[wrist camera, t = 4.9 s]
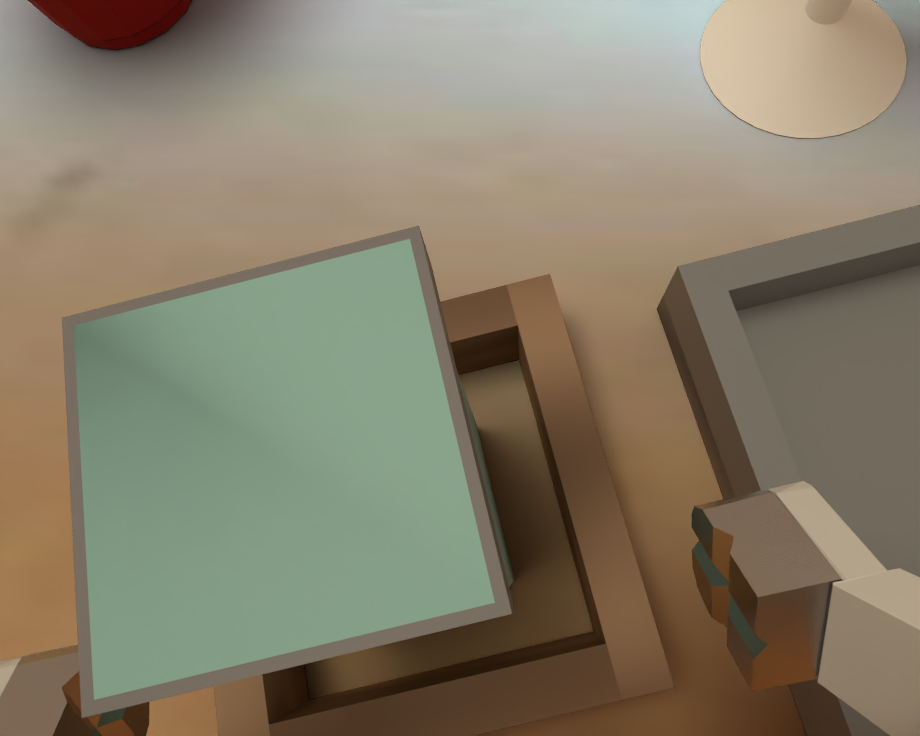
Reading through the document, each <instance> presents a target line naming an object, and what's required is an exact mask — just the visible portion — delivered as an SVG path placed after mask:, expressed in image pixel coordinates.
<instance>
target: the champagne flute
mask: <svg viewBox="0 0 920 736" xmlns="http://www.w3.org/2000/svg"><path fill="white" fill-rule="evenodd" d="M700 58H701V66H702V69H703V73H704V77H705V79H706V81H707V83H708V85H709V87H710V88H711V90H712V92H713V94H714V95H715V96H716V97H717V98H718V99H719V101H720V102H721V103H722V104H723V105H724V106H725V107H726V108H727V109H728V110H730V111H731V112H732V113H733V114H735V115H736V116H737V117H738V118H740V119H742V120H743V121H745V122H747V123H749V124H751V125H753V126H755V127H756V128H759V129H762V130H765V131H768V132H771V133H774V134H777V135H783V136H789V137H794V138H823V137H829V136H836V135H840V134H843V133H846V132H849V131H852V130H855V129H858V128H860V127H862V126H863V125H865V124H867V123H869V122H871V121H872V120H874V119H875V118H877V117H878V116H879V115H880V114H881V113H882V112H883V111H885V110H886V109H887V108H888V107H889V106H890V104H891V103H892V102H893V100H894V99H895V97H896V96H897V95H898V93H899V91H900V89H901V86H902V84H903V81H904V79H905V72H906V65H907V59H906V51H905V45H904V42H903V40H902V37H901V35H900V32H899V30H898V28H897V27H896V25H895V24H894V22H893V21H892V19H891V18H890V16H889V15H888V14H887V13H886V12H885V11H884V10H883V9H882V8H881V7H880V6H879V5H878V4H877V3H875V2H874V1H872V0H727V1H725V2H724V3H723V4H722V5H721V6H720V7H719V8H718V9H717V11H716V12H715V13H714V14H713V15H712V17H711V18H710V20H709V22H708V24H707V26H706V28H705V30H704V32H703V37H702V41H701V46H700Z"/></svg>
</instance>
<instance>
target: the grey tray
mask: <svg viewBox="0 0 920 736" xmlns="http://www.w3.org/2000/svg"><path fill="white" fill-rule="evenodd" d="M657 310H658V313H659V316H660V319H661V322H662V324H663V327H664V330H665V333H666V336H667V339H668V341H669V344H670V347H671V350H672V353H673V356H674V359H675V361H676V364H677V367H678V370H679V373H680V376H681V378H682V381H683V384H684V387H685V390H686V393H687V396H688V398H689V401H690V404H691V407H692V410H693V413H694V415H695V418H696V421H697V424H698V427H699V430H700V433H701V435H702V438H703V441H704V444H705V447H706V450H707V453H708V455H709V458H710V461H711V464H712V467H713V470H714V472H715V475H716V478H717V481H718V484H719V487H720V490H721V492H722V495H723V498H724V499H727V498H731V497H736V496H740V495H744V494H748V493H753V492H757V491H761V490H764V491H766V490H767V489H771V488H775V487H779V486H784V485H788V484H792V483H797V482H801V481H805V482H807V483H809V484H811V485H812V486H813V487H814V488H815V489H816V490H817V492H818V493H819V494H820V495H821V496H822V497H823V498H824V499H825V501H826V502H827V503H828V504H829V505H830V506H831V507H832V508H833V509H834V511H835V512H836V513H837V514H838V515H839V516H840V517H841V518H842V520H843V521H844V522H845V523H846V524H847V525H848V526H849V527H850V529H851V530H852V531H853V532H854V533H855V534H856V535H857V536H858V538H859V539H860V540H861V541H862V542H863V543H864V544H865V545H866V546H867V548H868V549H869V550H870V551H871V552H872V553H873V554H874V555H875V557H876V558H877V559H878V560H879V561H880V562H881V563H882V564H883V566H884V567H885V568H886V569H887V570H892V569H898V568H900V569H903V570H905V571H907V572H909V573H911V574H914V575H916V576H918V577H920V205H917V206H913V207H910V208H906V209H902V210H898V211H894V212H890V213H886V214H882V215H878V216H874V217H870V218H866V219H862V220H858V221H854V222H851V223H847V224H843V225H839V226H835V227H831V228H827V229H823V230H819V231H815V232H811V233H807V234H803V235H799V236H795V237H792V238H788V239H784V240H780V241H776V242H772V243H768V244H764V245H760V246H756V247H752V248H748V249H744V250H740V251H736V252H733V253H729V254H725V255H721V256H717V257H713V258H709V259H705V260H701V261H697V262H693V263H689V264H685V265H681V266H678V267H677V269H676V271H675V273H674V275H673V277H672V279H671V281H670V283H669V285H668V287H667V289H666V291H665V293H664V295H663V297H662V299H661V301H660V303H659V305H658V307H657ZM789 686H790V689H791V692H792V695H793V697H794V700H795V703H796V706H797V709H798V712H799V714H800V717H801V720H802V723H803V726H804V729H805V732H806V734H807V736H890V735H889V734H887V733H886V732H885V731H883V730H882V729H881V728H879V727H878V726H876V725H875V724H874V723H872V722H871V721H870V720H868V719H867V718H866V717H864V716H863V715H861V714H860V713H859V712H857V711H856V710H855V709H853V708H852V707H851V706H849V705H848V704H847V703H845V702H844V701H842V700H841V699H840V698H838V697H837V696H836V695H834V694H833V693H832V692H830V691H829V690H827V689H826V688H825V687H823V686H822V685H821V684H819V683H818V679H813V680H808V681H803V682H798V683H793V684H789Z"/></svg>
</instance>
